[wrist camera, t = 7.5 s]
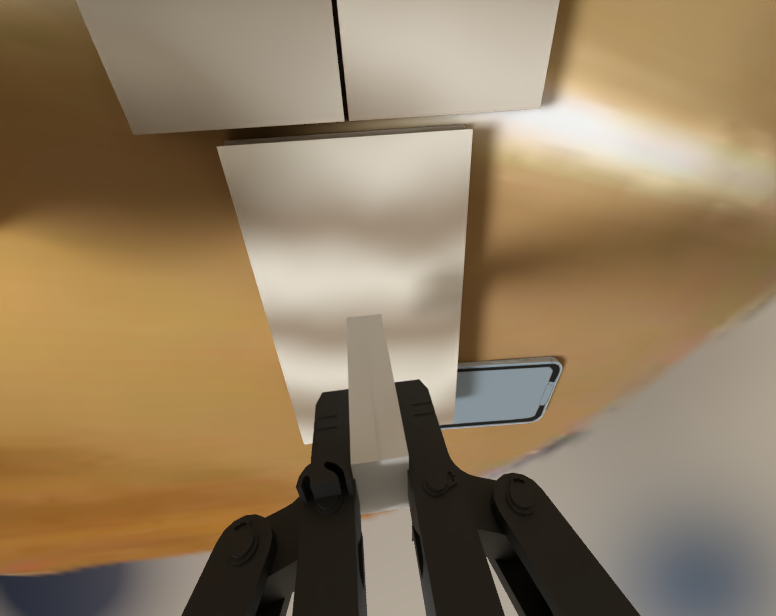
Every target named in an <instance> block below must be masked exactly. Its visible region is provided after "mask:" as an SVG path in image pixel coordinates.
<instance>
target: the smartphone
mask: <svg viewBox="0 0 776 616" xmlns="http://www.w3.org/2000/svg"><path fill="white" fill-rule="evenodd" d="M561 371H562V365H561V364H560V362H559V361H558V360H557V359H556V358H555V357H551V356H548V357H534V358H520V359H506V360H493V361H479V362H465V363H458V366H457V381H456V397H455V412H454V423H452V424H445V425H440V429H441V430H443V429H456V428H469V427H483V426H496V425H510V424H523V423H532V422H535V421H537V420H539V419H540V418H541V417H542V416H543V414H544V412H545V409H546V407H547V405H548V402H549V400H550V398H551V395H552V393H553V390H554V388H555V386H556V383H557V381H558V378H559V376H560V374H561Z"/></svg>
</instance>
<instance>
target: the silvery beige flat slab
mask: <svg viewBox="0 0 776 616" xmlns="http://www.w3.org/2000/svg"><path fill="white" fill-rule="evenodd" d="M465 126H466V124H463V125H449V126H434V127H419V128H404V129H390V130H375V131H360V132H346V133H331V134H316V135H301V136H287V137H272V138H257V139H242V140H228V141H223V142H224V146H218V147H217V150H218V154H219V157H220V160H221V164H222V167H223V170H224V174H225V177H226V181H227V184H228V187H229V191H230V194H231V198H232V201H233V204H234V208H235V211H236V215H237V218H238V221H239V225H240V228H241V232H242V235H243V238H244V242H245V245H246V249H247V252H248V255H249V259H250V262H251V266H252V269H253V272H254V276H255V279H256V283H257V286H258V289H259V293H260V296H261V300H262V303H263V306H264V310H265V313H266V317H267V320H268V323H269V327H270V330H271V334H272V337H273V340H274V344H275V347H276V351H277V354H278V357H279V361H280V364H281V367H282V371H283V374H284V378H285V381H286V384H287V388H288V391H289V395H290V398H291V401H292V405H293V408H294V412H295V415H296V418H297V422H298V425H299V429H300V432H301V435H302V439H303V442H304V444H311V443H313V432H314V421H315V406H316V403H317V401H318V400H319V398H320V396H321V394H322V392H329V391H337V390H345V389H348V355H347V321H346V318H348V317H357V316H367V315H376V314H381V316H382V322H383V327H384V332H385V337H386V342H387V347H388V352H389V357H390V362H391V368H392V373H393V378H394V382H401V381H409V380H417V379H420V380H421V382H422V383H423V384H424V385H425V386H426V387H427V388H428V390H429V393H430V396H431V400H432V404H433V406H434V409H435V414H436V416H437V419H438V422H439V425H445V424H452V423H454V412H455V397H456V381H457V366H458V350H459V335H460V320H461V304H462V289H463V273H464V258H465V243H466V227H467V212H468V196H469V181H470V166H471V150H472V135H473V129H465Z"/></svg>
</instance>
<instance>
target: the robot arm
mask: <svg viewBox="0 0 776 616" xmlns="http://www.w3.org/2000/svg"><path fill="white" fill-rule="evenodd" d="M346 321H347V355H348V389H345V390H337V391H329V392H322V394H321V396H320V398H319V400H318V401H317V403H316V406H315V421H314V432H313V443H312V455H311V464H309V465H308V466H307V467H306V468H305V469H304V470H303V472H302V473H301V475H300V476H299V479H298V482H297V485H296V488H297V491H298V493H299V496H300V497H299V498H297V499H296V500H295V501H294V502H293V503H292V504H290V505H289V506H287V507H285V508H283V509H281V510H280V511H278V512H276V513H274V514H272V515H270V516H268V517H266V518H265V517H262V516H259V515H256V514H254V515H245V516H243V517H242V518H240V519H238V520H236V521H234V522H233V523H232V524H231V525H230V526H229V527H227V528H226V529H225V530H224V532H223V533H222V535H221V536H220V538H219V539H218V541H217V543H216V545H215V547H214V549H213V551H212V553H211V555H210V557H209V560H208V561H207V564H206V566H205V568H204V570H203V572H202V574H201V576H200V578H199V580H198V583H197V584H196V586H195V589H194V591H193V593H192V595H191V597H190V599H189V601H188V603H187V605H186V607H185V609H184V612H183V614H182V616H286V613H287V609H288V606H289V602H290V598H291V595H292V593H293V592H294V591H295V593H294V603H293V614H292V616H367V604H366V586H365V569H364V550H363V536H362V532H361V515H362V514H368V513H375V512H381V511H387V510H393V509H399V508H405V507H409V506H410V512H411V517H412V541H414V544H415V549H416V556H417V562H418V568H419V574H420V579H421V586H422V591H423V598H424V604H425V609H426V616H505V615H504V612H503V609H502V606H501V603H500V599H499V596H498V593H497V590H496V587H495V584H494V581H493V578H492V574H491V571H490V568H489V565H488V562H487V559H486V557H488V559H489V561H490V563H491V565H492V567H493V568H494V570H495V572H496V574H497V576H498V578H499V580H500V581H501V584H502V585H503V587H504V589H505V591H506V593H507V594H508V596H509V598H510V600H511V602H512V604H513V606H514V608H515V610H516V611H517V613H518V615H519V616H640V615H639V613H638V612H637V611H636V609H635V608H634V607H633V606H632V604H631V603H630V602H629V600H628V599H627V598H626V597H625V595H624V594H623V593H622V592H621V590H620V589H619V588H618V586H617V585H616V584H615V582H614V581H613V580H612V579H611V577H610V576H609V575H608V573H607V572H606V571H605V570H604V568H603V567H602V566H601V564H600V563H599V562H598V561H597V559H596V558H595V557H594V555H593V554H592V553H591V552H590V550H589V549H588V548H587V546H586V545H585V544H584V543H583V541H582V540H581V539H580V538H579V536H578V535H577V534H576V532H575V531H574V530H573V529H572V527H571V526H570V525H569V523H568V522H567V521H566V519H565V518H564V517H563V516H562V514H561V513H560V512H559V511H558V509H557V508H556V507H555V505H554V504H553V503H552V502H551V500H550V499H549V497H548V496H547V495H546V494H545V492H544V491H543V490H542V489H541V488H540V487H539V486H538V485H537V484H536V483H535V482H534V481H533V480H532V479H530V478H528V477H526V476H524V475H522V474H517V473H509V474H504V475H502V476H501V477H500V478H499V479H497V481H496V480H491V479H486V478H481V477H476V476H472V475H469V474H467V473H465V472H463V471H462V470H460V469H459V468H458V467H457V466H456V465H455V464H454V463H453V461H452V460H451V458H450V456H449V454H448V451H447V448H446V445H445V442H444V438H443V435H442V432H441V429H440V425H439V422H438V419H437V416H436V414H435V409H434V406H433V404H432V400H431V396H430V393H429V390H428V388H427V387H426V386H425V385H424V384H423V383H422V382H421V380H420V379H417V380H409V381H401V382H394V378H393V373H392V368H391V362H390V357H389V352H388V347H387V342H386V337H385V332H384V327H383V322H382V316H381V314H376V315H367V316H357V317H348V318H346Z"/></svg>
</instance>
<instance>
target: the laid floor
mask: <svg viewBox="0 0 776 616" xmlns="http://www.w3.org/2000/svg"><path fill="white" fill-rule="evenodd" d="M75 1H76V4H77V6H78V8H79V11H80V13H81V15H82V17H83V20H84V22H85V24H86V27H87V29H88V31H89V34H90V36H91V38H92V40H93V43H94V45H95V47H96V50H97V52H98V54H99V57H100V59H101V61H102V63H103V66H104V68H105V70H106V73H107V75H108V77H109V79H110V82H111V84H112V86H113V89H114V91H115V93H116V96H117V98H118V100H119V102H120V105H121V107H122V109H123V112H124V114H125V116H126V119H127V121H128V123H129V125H130V128H131V130H132V132H133V135H143V134H159V133H174V132H190V131H205V130H220V129H236V128H251V127H266V126H282V125H297V124H312V123H328V122H343V121H344V112H343V103H342V94H341V85H340V76H339V67H338V57H337V48H336V39H335V30H334V21H333V12H332V3H331V0H75ZM559 1H560V0H336V3H337V13H338V22H339V32H340V41H341V51H342V61H343V70H344V80H345V90H346V99H347V109H348V119H349V121H358V120H374V119H389V118H404V117H420V116H435V115H450V114H466V113H481V112H496V111H512V110H527V109H540V107H541V101H542V96H543V90H544V84H545V79H546V73H547V68H548V62H549V57H550V51H551V46H552V40H553V34H554V29H555V23H556V18H557V12H558V7H559Z"/></svg>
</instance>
